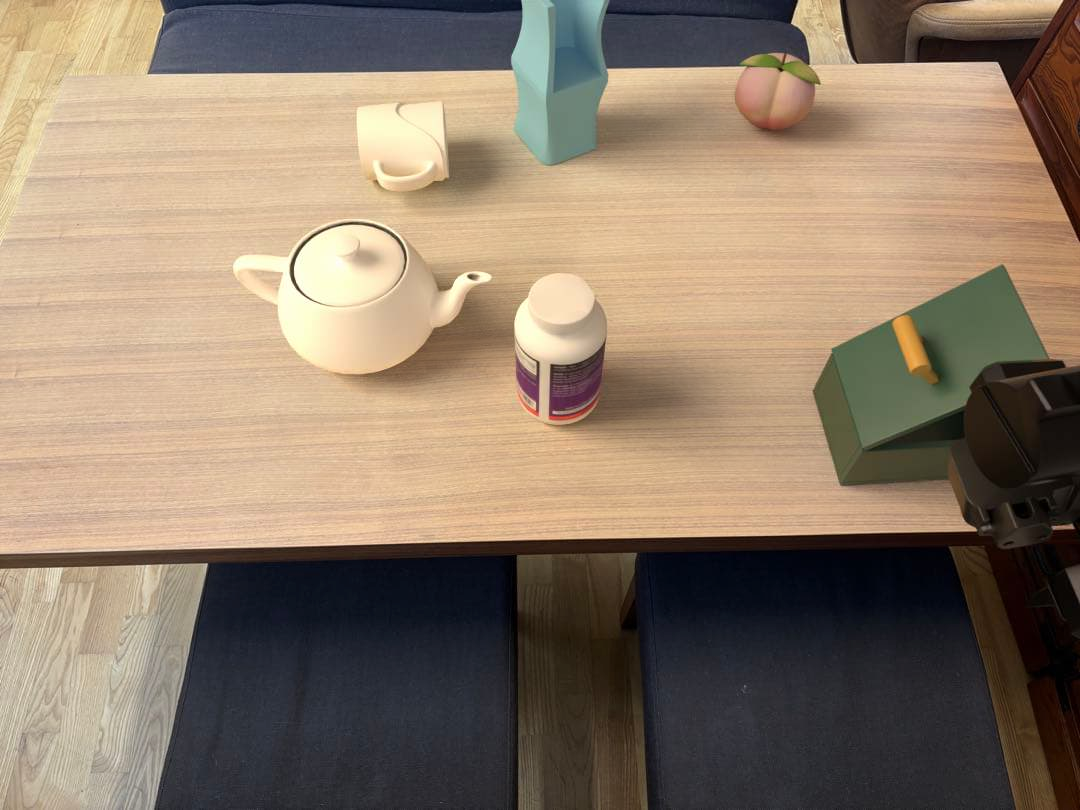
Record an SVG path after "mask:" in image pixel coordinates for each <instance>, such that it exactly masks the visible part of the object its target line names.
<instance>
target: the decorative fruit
mask: <svg viewBox="0 0 1080 810" xmlns="http://www.w3.org/2000/svg"><path fill="white" fill-rule="evenodd" d="M739 65H740V66H746V67H745V68H744V69H743V71H742V72H741V73H740V76H739V78H738V80H737V83H736V86H735V89H734V101H735V105H736V108H737V110H738V112H739V113H740V115H742V117H744V119H746V121H748V122H749V123H750V124H752V125H753V126H755V127H757V128H762V129H768V130H773V131H774V130H782V129H785V128H788V127H790V126H793V125H795V124H797V123H799V122H801V121H802V120H803V119H805V117H807V115H808V114H809V113H810V111H812V108H813V106H814V101H815V96H816V85H818V86H821V85H822V83H821V81H820V78H819V76H818V74H817V73H816V71H815V70H814V69H813V68H812V67H811V66H810V65H808V64H807V63H805V62H804V61H803V60H801V59H800V58H798V57H796V56H794V55H792V54H789V53H784V52H772V53H770V52H769V53H767V54H766V53H759V54H755V55H753V56H749V57H748V58H745V59H744V60H743V61H741V62H740V63H739Z"/></svg>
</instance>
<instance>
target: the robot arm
mask: <svg viewBox="0 0 1080 810" xmlns="http://www.w3.org/2000/svg"><path fill="white" fill-rule="evenodd" d="M969 388H970V390H971V394H970V396H969V398H968V400H967V403H966V407H965V411H964V432H965V438H963V439H960V440H957V441H956V442H954V443H953V445H952V446H951V448H950V454H949V462H948V470H947V475H948V478H949V479H948V481H949V483H950V485H951V488H952V490H953V492H954V496H955V498H956V501H957V504H958V506H959V509H960V513H961V516H962V518H963V521H965V523H966V524H967V525H969V526H970V527H972V528H975V529H976V533H977V535H978V536H980V537H986V536H990V537H992V538H993V539H994V542H995V545H996V547H997V548H999V549H1002V550H1009V549H1016V548H1022V547H1027V546H1033V545H1038V544H1042V543H1044V542H1047V541H1049V540H1050V538H1051V536H1052V535H1053V533H1054V528H1053V527H1061V526H1065V527H1066V526H1070V525H1072V527H1073V528H1074V529H1073V530H1074V531H1075V533H1076V535H1077V537H1078V540H1079V541H1080V364H1078V365H1073V366H1068V365H1067V364H1066V363H1065V361H1064V360H1061V359H1055V358H1050V359H1039V360H1019V361H1000V362H995V363H992V364H990V365H988V366H986V367H984V368H983V369H982V371H981V372H980V373H979V375H978V376H977V377H976V379H975V380H974V381H973V383H972V384H971V385H970V387H969ZM1044 581H1045V583H1046V586H1045V587H1043V588H1042V589H1040V590H1038V591H1036V592H1035V593H1033V594H1031V595H1030V596H1029V598H1027V600H1025V605H1026V607H1027V608H1028V609H1030V608H1031V609H1032V608H1043V607H1045V608H1046V607H1055V608H1056V610H1057V612H1058V616H1059V617H1060V618H1061V619H1062V620H1063V621H1065V623H1066V624H1067V627H1068V629H1069V631H1070V634H1071V635H1073V636H1074V637H1076V638H1077V639H1079V640H1080V563H1078V564H1075V565H1071V566H1068V567H1065V568H1063V569H1062V570H1060V571H1059V572H1057V573H1056V574H1055V576H1051V577H1049V576H1048V577H1047V576H1046V577H1044Z"/></svg>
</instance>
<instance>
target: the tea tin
mask: <svg viewBox="0 0 1080 810" xmlns="http://www.w3.org/2000/svg"><path fill="white" fill-rule="evenodd" d="M812 394H813V397H814V401H815V404H816V408H817V411H818V414H819V417H820V422H821V424H822V429H823V431H824V435H825V438H826V442H827V446H828V449H829V452H830V457H831V459H832V462H833V466H834V469H835V472H836V476H837V480H838V482H839V486H856V485H857V486H859V485H875V484H892V483H894V484H895V483H910V482H928V481H929V482H930V481H945V480H946V481H947V480H948V481H949V478H948V475H947V470H948V462H949V454H950V448H951V446H952V445H953V443H954V442H956V441H957V440H960V439H963V438H965V432H964V411H965V410H963V411H960V412H958V413H956V414H953V415H951V416H948V417H946V418H943V419H941V420H939V421H936V422H934V423H931V424H929V425H926V426H924V427H922V428H919V429H917V430H914V431H912V432H909V433H907V434H905V435H902V436H900V437H897V438H895V439H892V440H890V441H888V442H885V443H883V444H880V445H878V446H875V447H873V448H871V449H868V450H865V449H863V448H862V445H861V442H860V439H859V436H858V433H857V429H856V426H855V423H854V420H853V417H852V414H851V410H850V407H849V404H848V401H847V398H846V395H845V391H844V388H843V385H842V382H841V379H840V376H839V372H838V369H837V366H836V363H835V360H834V357H833V353H832V352H831V353H830V355H829V357H828V359H827V360H826V362H825V365H824V367H823V368H822V371H821V373H820V375H819V376H818V379H817V381H816V383H815V385H814V387H813V389H812Z"/></svg>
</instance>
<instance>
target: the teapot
mask: <svg viewBox="0 0 1080 810" xmlns="http://www.w3.org/2000/svg"><path fill="white" fill-rule="evenodd" d="M232 269H233V274H234V275H235V277H236V279H237V280H238V282H239V283H240V284H242V286H243V287H244V288H246V289H247V290H248V291H249V292H251V293H253V294H254V295H256V296H257V297H259V298H260V299H262V300H264V301H267V302H268V303H271V304H273V305H276V306H277V314H278V320H279V324H280V327H281V331H282V334H283V335H284V337H285V339H286V341H287V343H288V344H289V346H290V347H291V349H293V350H294V352H295V353H297V355H298V356H299V357H301V358H302V359H303V360H305V361H307V362H308V363H310V364H311V365H313V366H315V367H317V368H321V369H323V370H326V371H327V372H328V371H329V372H333V373H337V374H343V375H344V374H345V375H365V374H372V373H377V372H381V371H384V370H387V369H391V368H392V367H394V366H397V365H399V364H401V363H403V362H404V361H406V360H407V359H408V358H410V357H411V356H413V355H414V354H416V353H417V351H419V349H421V347H423V345H425V343H426V342H427V341H428V339H429V337H430V335H431V334H432V333H433V331H434V328H440V327H443V326H445V325H449V324H450V323H451V322H452V321H453V320H454V319H456V317H457V316H458V315H459V314H460V312H461V310H462V307H463V305H464V302H465V299H466V297H467V295H468V293H469V291H471V289H472V288H474V287H476V286H479V285H481V284H485V283H488V282H490V281H491V280H492V279H493V277H492V275H491V274H490V273H488V272H486V271H475V270H474V271H467V272H464V273H463V274H461V275H459V276H457V278H456V279H455V280H454V282H453V285H452V287H451V288H449V289H447V290H439V287H438V284H437V282H436V279H435V277H434V274H433V272H432V269H431V268H430V266H429V265H428V264H427V262H426V261H425V259H424V258H423V256H422V255H421V253H419V251H418V250H417V249H416V247H414V246H413V245H412V244H411V243H410V242H409V240H407V239H406V237H404V236H403V235H402V234H401V233H400V232H398V231H397V230H396V229H394V228H393V227H391V226H389V225H387V224H385V223H383V222H380V221H376V220H372V219H366V218H343V219H338V220H334V221H330V222H327V223H325V224H322V225H320V226H318V227H315V228H314V229H313V230H311V231H309V232H308V233H307V234H305V235H304V236H303V237H302V238H300V239H299V241H298V242H297V243H296V244H295V245H294V246H293V248H292V250H291V251H290V254H289V255H288V256H280V255H279V256H278V255H269V254H245V255H241V256H239V257H238V258H236V260H235V261H234V263H233V267H232ZM253 271H265V272H275V273H283V274H282V277H281V280H280V284H279V288H277V287H275V286H273V285H271V284H270V283H268V282H266V281H264V280H263V279H262V278H260V277H259V276H258V275H256V274H255V273H254V272H253Z"/></svg>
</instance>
